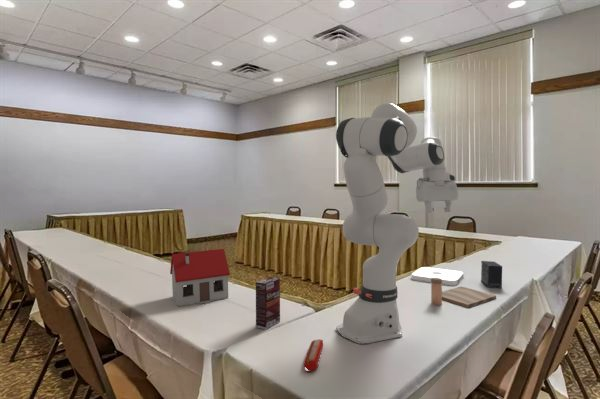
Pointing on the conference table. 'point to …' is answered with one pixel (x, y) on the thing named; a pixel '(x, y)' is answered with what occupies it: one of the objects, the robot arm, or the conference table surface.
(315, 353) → the candy bar
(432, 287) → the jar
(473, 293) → the board
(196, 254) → the house model
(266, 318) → the supplement box
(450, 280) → the computer
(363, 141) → the robot arm
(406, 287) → the conference table surface
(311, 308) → the conference table surface
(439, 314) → the conference table surface
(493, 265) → the small box
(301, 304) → the conference table surface
